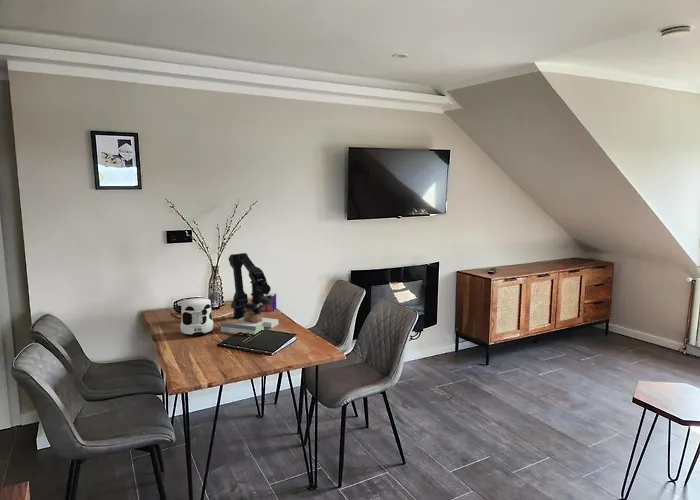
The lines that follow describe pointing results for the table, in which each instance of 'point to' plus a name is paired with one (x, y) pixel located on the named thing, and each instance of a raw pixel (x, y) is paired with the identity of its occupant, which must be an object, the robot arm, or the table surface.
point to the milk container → (196, 316)
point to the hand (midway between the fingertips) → (257, 317)
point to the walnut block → (253, 317)
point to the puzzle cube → (272, 304)
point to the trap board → (248, 326)
